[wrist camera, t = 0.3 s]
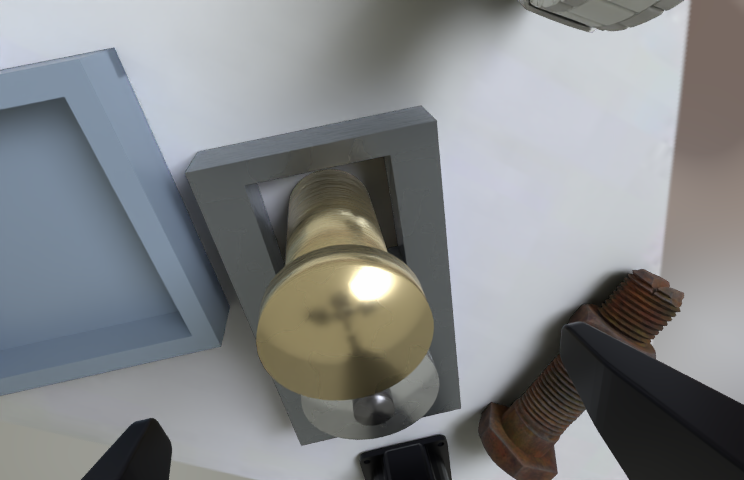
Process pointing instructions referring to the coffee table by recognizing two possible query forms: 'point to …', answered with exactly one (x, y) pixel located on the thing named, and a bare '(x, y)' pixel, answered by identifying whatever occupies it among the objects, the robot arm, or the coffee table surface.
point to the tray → (92, 231)
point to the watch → (599, 12)
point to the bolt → (555, 388)
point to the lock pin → (340, 298)
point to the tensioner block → (415, 248)
